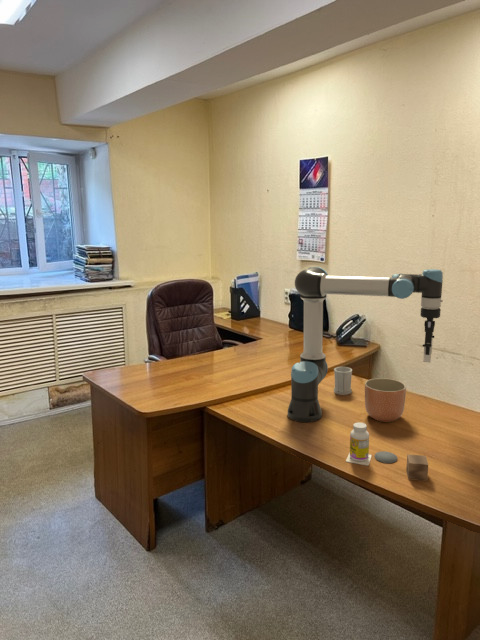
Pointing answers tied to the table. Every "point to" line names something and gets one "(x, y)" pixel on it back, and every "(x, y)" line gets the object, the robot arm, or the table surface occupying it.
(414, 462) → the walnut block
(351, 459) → the tile
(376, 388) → the planter
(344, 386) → the cup
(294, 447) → the table surface
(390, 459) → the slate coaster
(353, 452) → the supplement bottle
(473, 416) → the table surface
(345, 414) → the table surface
